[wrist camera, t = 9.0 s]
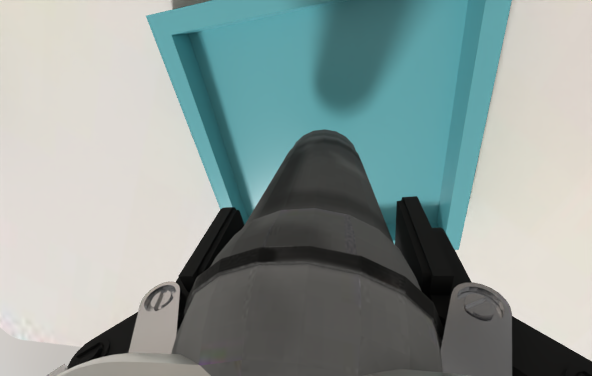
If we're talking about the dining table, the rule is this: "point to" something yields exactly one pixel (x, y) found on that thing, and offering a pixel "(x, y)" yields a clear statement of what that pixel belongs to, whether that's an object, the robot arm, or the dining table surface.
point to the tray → (339, 91)
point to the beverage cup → (311, 281)
